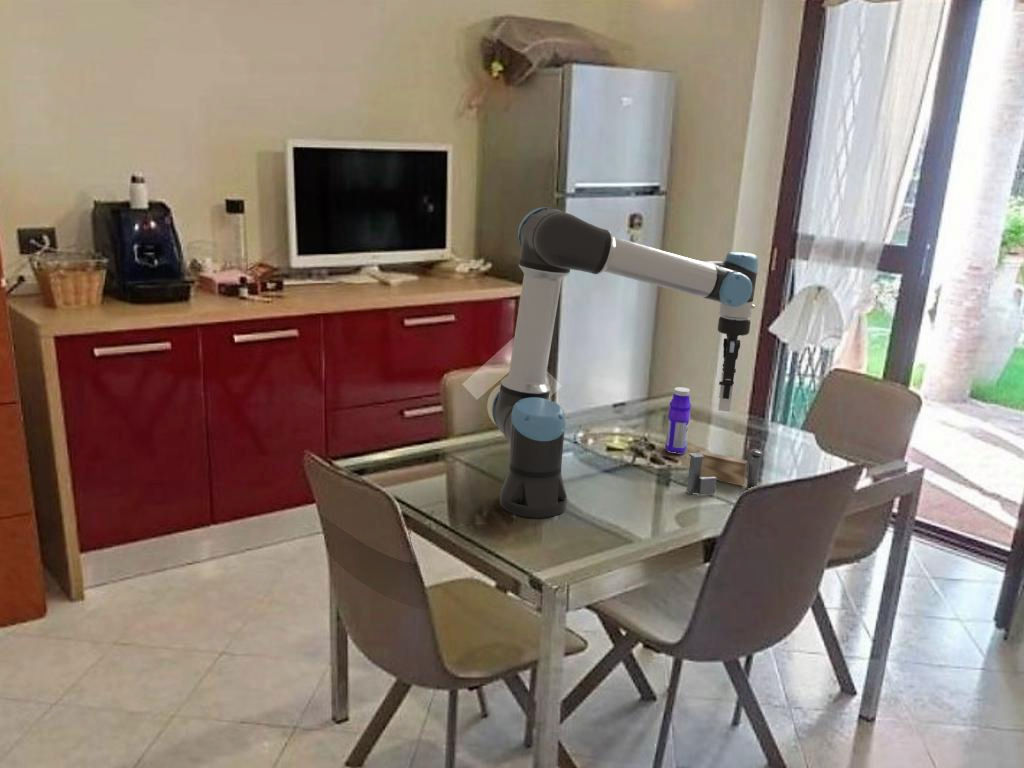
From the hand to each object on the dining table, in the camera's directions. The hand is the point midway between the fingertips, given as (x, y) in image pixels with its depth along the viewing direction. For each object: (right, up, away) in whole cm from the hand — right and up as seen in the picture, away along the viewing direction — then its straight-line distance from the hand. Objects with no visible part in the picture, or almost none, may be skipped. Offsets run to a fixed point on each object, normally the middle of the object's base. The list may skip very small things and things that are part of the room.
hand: (724, 404), depth 222 cm
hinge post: (+6, -20, -5) cm, 22 cm away
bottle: (-9, -13, +18) cm, 24 cm away
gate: (-2, -18, -1) cm, 19 cm away
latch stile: (-8, -21, -9) cm, 25 cm away
